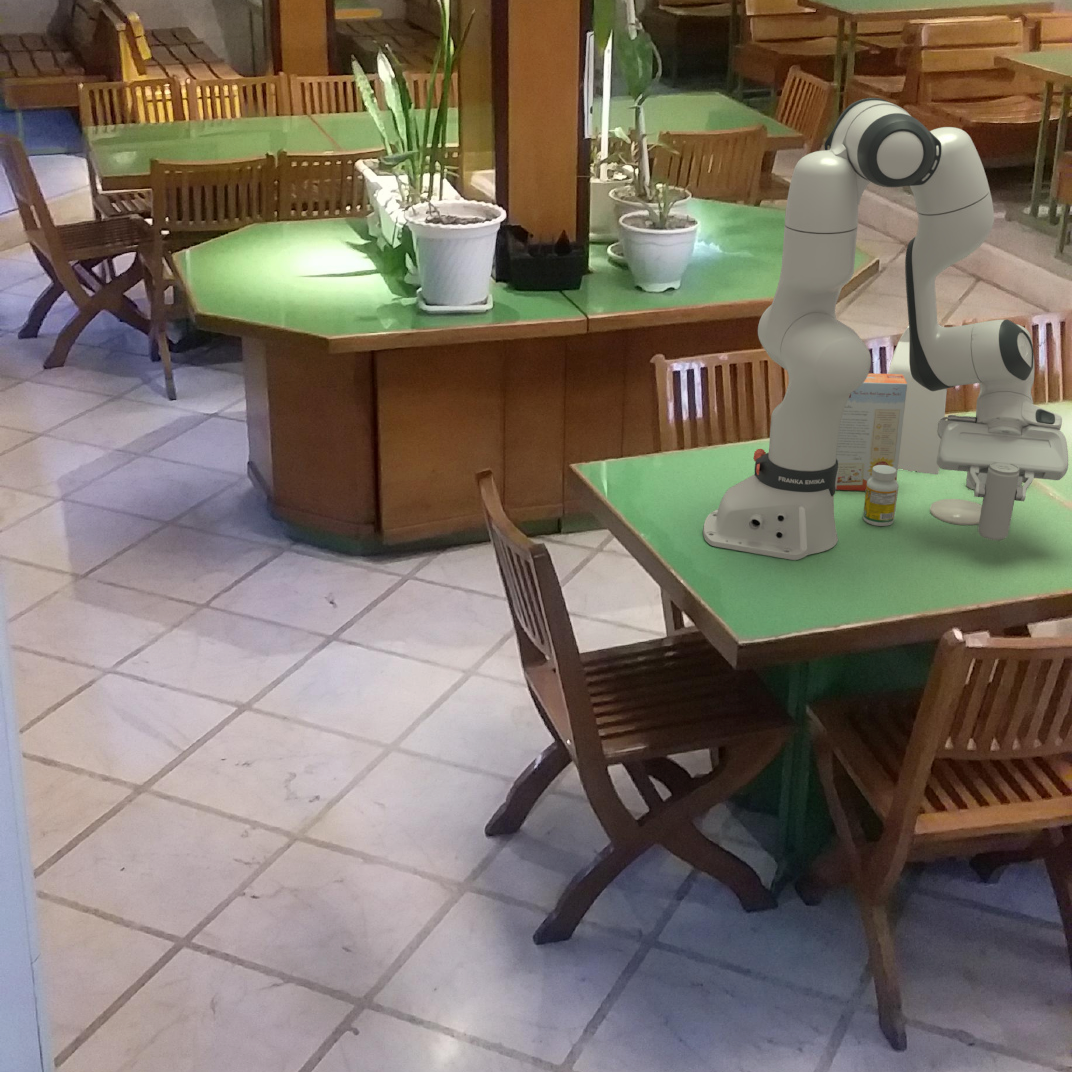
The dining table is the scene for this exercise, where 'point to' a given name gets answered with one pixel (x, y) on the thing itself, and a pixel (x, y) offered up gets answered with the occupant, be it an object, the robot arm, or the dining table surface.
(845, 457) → the cracker box
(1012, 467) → the beverage can
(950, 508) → the white domed disc
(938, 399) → the milk
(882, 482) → the supplement bottle
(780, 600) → the dining table surface
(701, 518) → the dining table surface
